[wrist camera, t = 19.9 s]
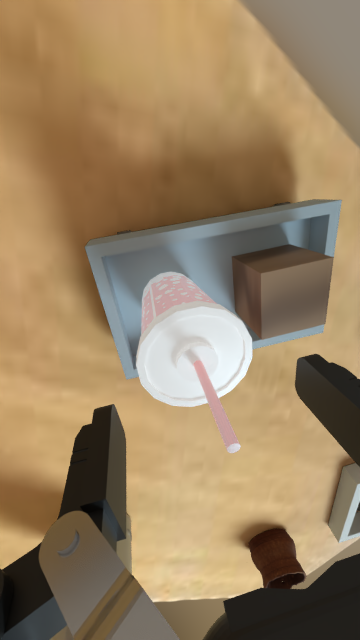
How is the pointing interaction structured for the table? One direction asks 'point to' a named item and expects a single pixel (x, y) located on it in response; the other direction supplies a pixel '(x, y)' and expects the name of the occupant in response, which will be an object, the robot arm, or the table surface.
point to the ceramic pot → (276, 559)
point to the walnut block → (281, 289)
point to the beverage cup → (191, 348)
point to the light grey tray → (346, 505)
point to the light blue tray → (201, 261)
